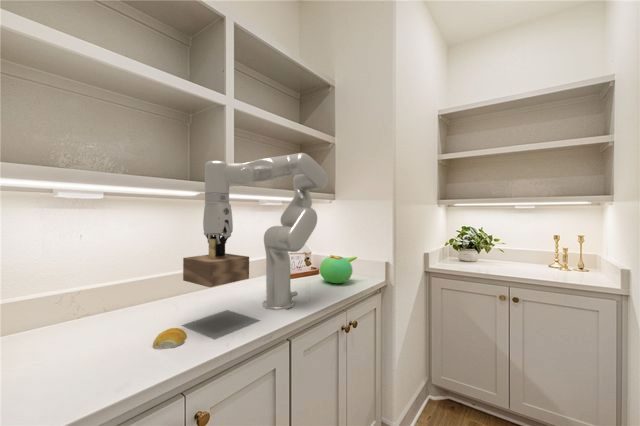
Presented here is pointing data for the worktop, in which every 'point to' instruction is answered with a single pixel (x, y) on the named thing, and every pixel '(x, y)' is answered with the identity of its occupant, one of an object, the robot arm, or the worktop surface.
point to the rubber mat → (220, 324)
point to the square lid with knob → (215, 268)
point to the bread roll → (170, 338)
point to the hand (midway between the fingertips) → (216, 255)
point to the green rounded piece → (336, 269)
